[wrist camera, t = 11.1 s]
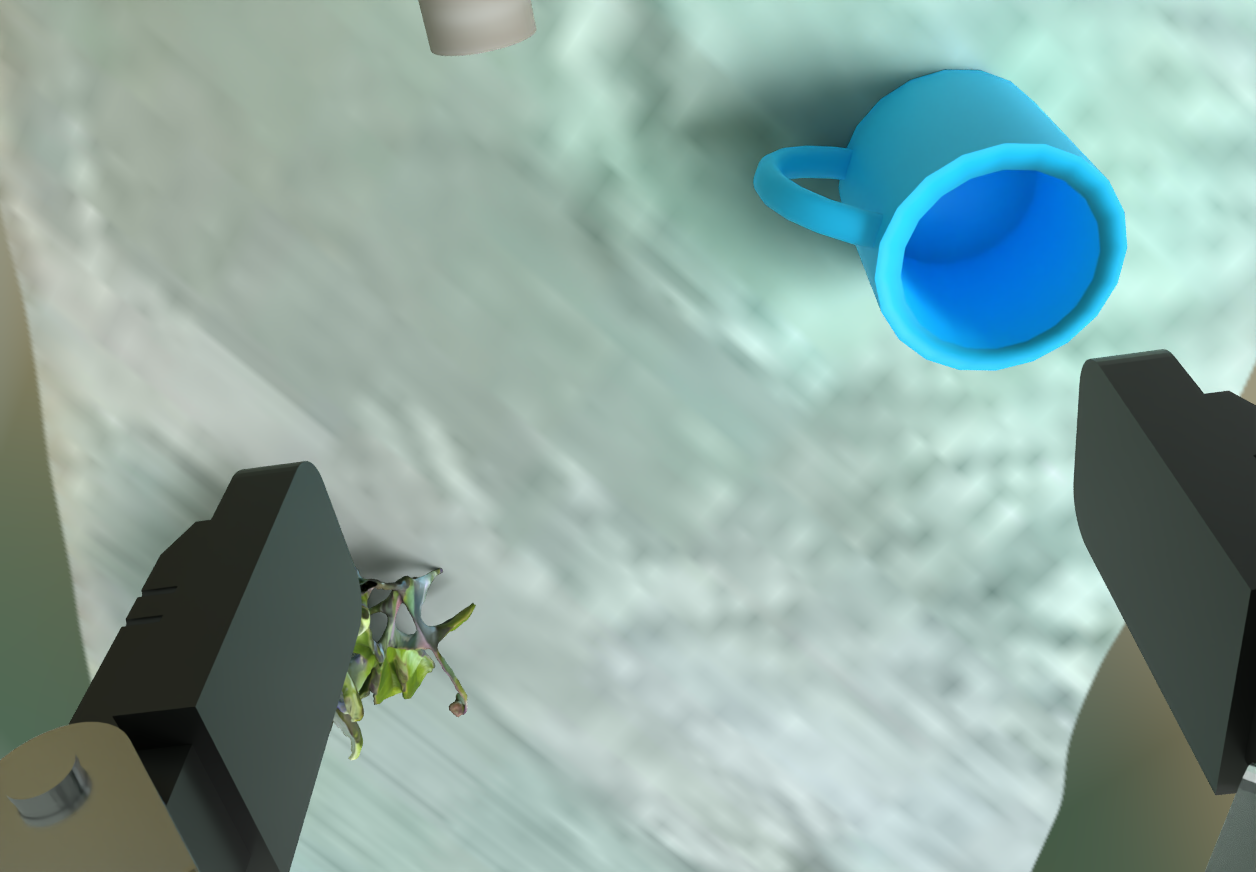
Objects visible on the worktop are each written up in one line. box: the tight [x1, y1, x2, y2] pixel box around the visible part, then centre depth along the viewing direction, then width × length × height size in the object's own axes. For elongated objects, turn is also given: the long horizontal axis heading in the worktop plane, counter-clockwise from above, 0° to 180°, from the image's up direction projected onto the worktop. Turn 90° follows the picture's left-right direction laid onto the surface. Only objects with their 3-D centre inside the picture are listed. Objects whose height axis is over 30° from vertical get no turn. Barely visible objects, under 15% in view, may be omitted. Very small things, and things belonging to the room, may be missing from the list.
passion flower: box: [330, 567, 476, 760], centre depth 53 cm, size 11×11×12 cm
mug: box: [753, 69, 1127, 370], centre depth 41 cm, size 12×8×8 cm
